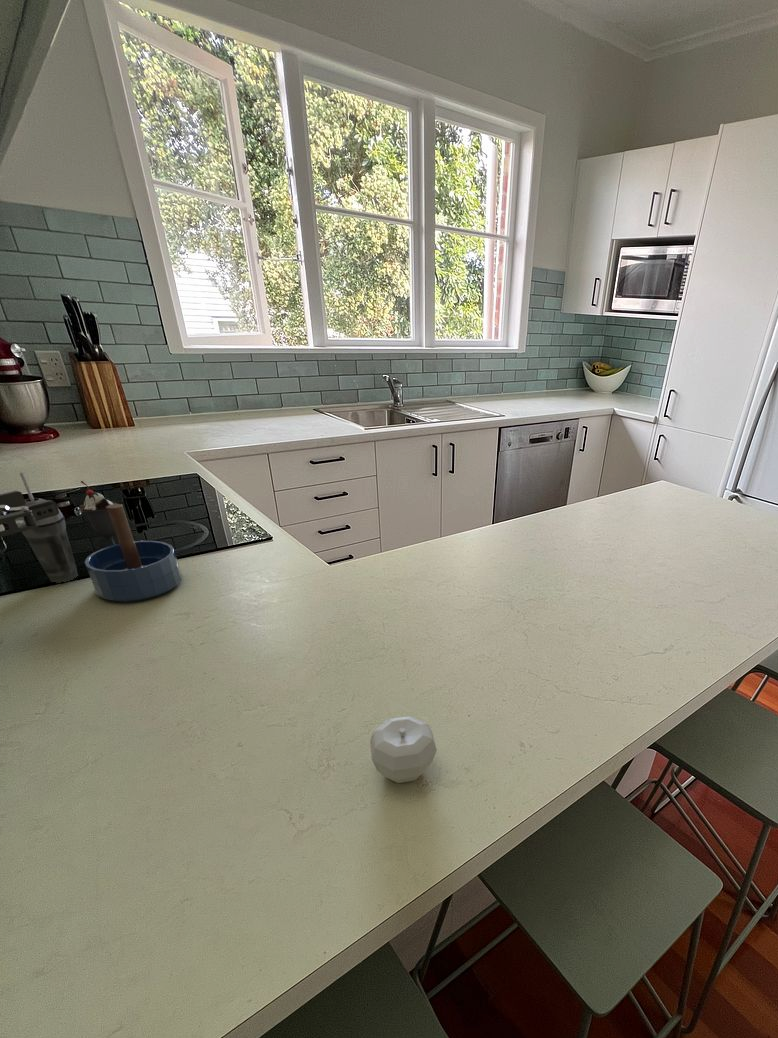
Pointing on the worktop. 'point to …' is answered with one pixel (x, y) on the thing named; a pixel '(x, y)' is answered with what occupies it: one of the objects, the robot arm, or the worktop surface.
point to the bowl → (134, 572)
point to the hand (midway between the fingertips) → (38, 501)
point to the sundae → (98, 514)
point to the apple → (402, 748)
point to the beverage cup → (51, 543)
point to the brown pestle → (124, 536)
